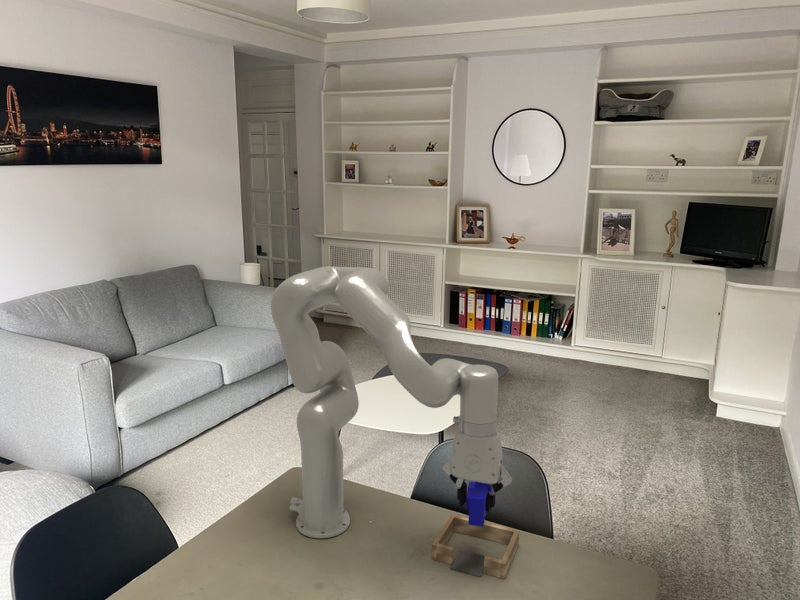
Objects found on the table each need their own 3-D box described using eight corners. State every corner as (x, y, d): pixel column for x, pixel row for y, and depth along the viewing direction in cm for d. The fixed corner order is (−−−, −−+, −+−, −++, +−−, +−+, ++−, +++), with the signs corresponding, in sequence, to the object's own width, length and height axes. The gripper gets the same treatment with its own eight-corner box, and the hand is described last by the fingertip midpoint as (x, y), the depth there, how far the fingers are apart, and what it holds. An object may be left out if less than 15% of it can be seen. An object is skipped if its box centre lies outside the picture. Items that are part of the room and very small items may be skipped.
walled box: (429, 563, 132) (429, 548, 131) (450, 527, 145) (451, 514, 144) (502, 583, 126) (503, 568, 125) (518, 544, 139) (519, 530, 138)
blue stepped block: (469, 493, 137) (469, 468, 136) (489, 496, 136) (490, 471, 134) (461, 523, 125) (461, 496, 124) (483, 526, 124) (484, 499, 123)
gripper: (432, 425, 126) (431, 506, 130) (515, 439, 120) (511, 524, 123) (444, 412, 133) (443, 489, 137) (523, 425, 126) (520, 506, 130)
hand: (475, 505), depth 130 cm, fingers closed on blue stepped block, 5 cm apart
